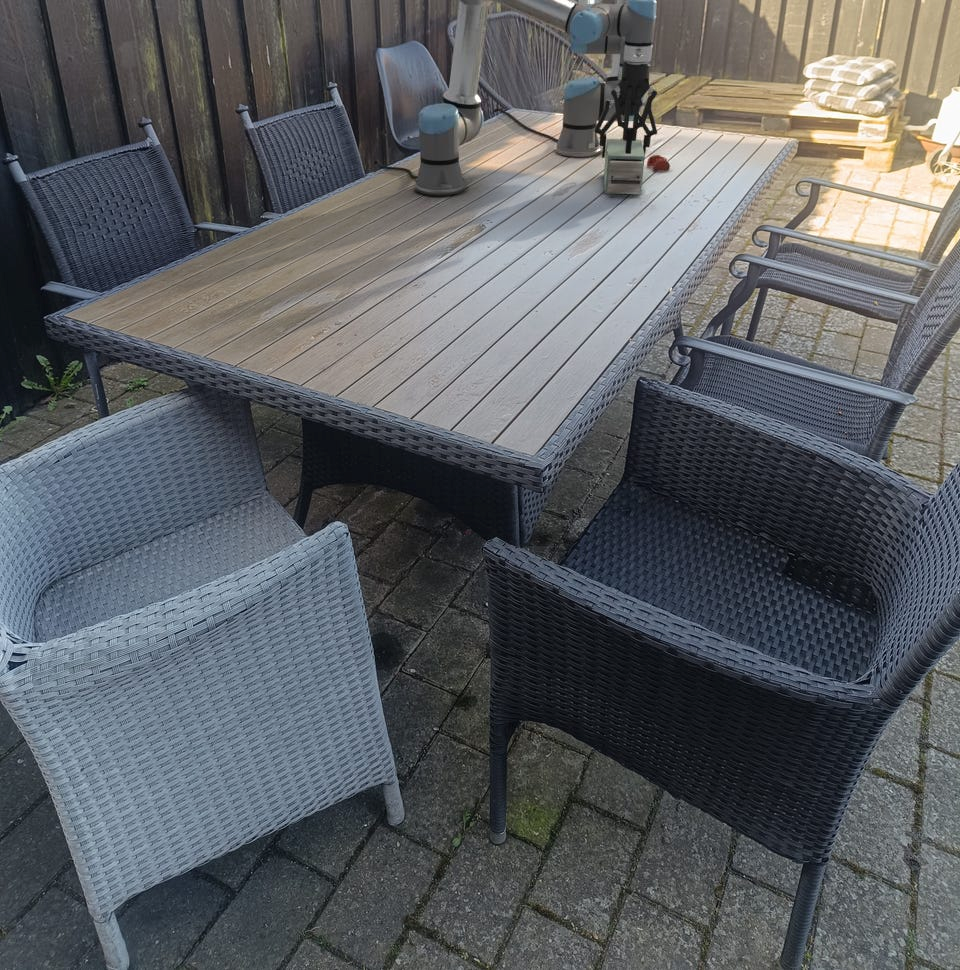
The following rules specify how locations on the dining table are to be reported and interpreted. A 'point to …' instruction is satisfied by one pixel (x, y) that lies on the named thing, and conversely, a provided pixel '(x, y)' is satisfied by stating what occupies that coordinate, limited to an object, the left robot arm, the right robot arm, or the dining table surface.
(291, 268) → the dining table surface
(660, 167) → the red-brown rounded lump
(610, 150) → the cabinet
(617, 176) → the drawer
